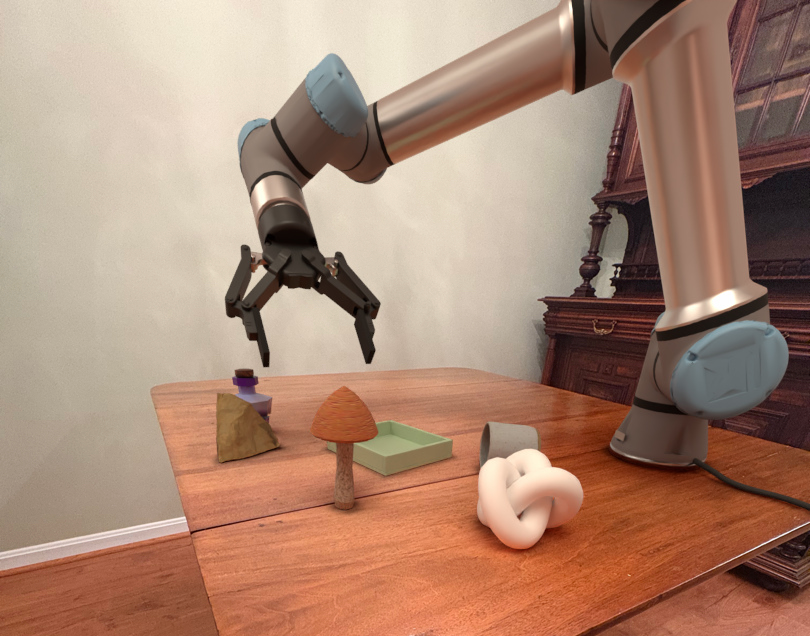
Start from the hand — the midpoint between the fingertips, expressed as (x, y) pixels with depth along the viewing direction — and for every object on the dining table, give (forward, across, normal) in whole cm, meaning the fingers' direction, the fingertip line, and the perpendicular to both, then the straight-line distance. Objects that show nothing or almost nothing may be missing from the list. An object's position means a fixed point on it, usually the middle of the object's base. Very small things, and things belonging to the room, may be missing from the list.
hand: (321, 359), depth 54 cm
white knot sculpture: (+28, -16, +4) cm, 32 cm away
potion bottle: (-8, +7, -32) cm, 33 cm away
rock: (0, +9, -24) cm, 25 cm away
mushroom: (+19, 0, -5) cm, 20 cm away
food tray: (+6, -13, -18) cm, 23 cm away
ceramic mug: (+15, -27, -8) cm, 33 cm away
